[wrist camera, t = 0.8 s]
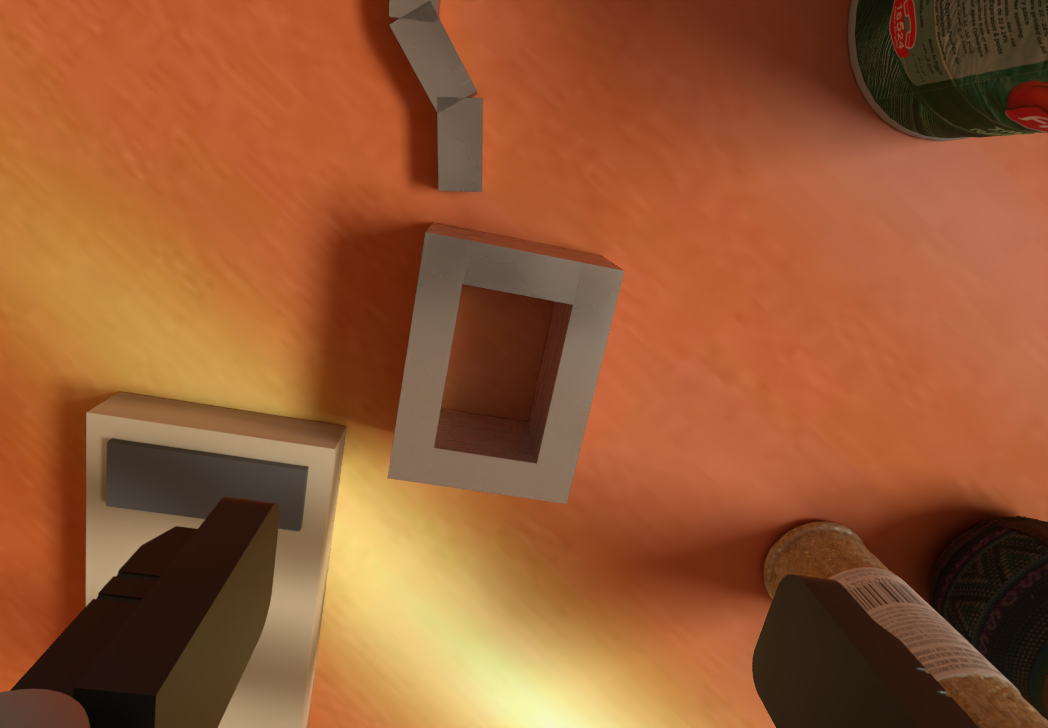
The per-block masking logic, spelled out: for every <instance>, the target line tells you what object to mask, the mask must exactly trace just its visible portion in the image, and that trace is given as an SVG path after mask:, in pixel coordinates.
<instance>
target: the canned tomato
mask: <svg viewBox="0 0 1048 728" xmlns="http://www.w3.org/2000/svg"><path fill="white" fill-rule="evenodd" d="M848 46H849V55H850V63H851V66H852V69H853V72H854V75H855V79H856V82H857V85H858V87H859V88H860V90H861V92H862V94H863V96H864V97H865V99H866V101H867V103H868V104H869V105H870V106H871V108H872V109H873V110H874V111H875V112H876V113H877V114H878V115H879V116H880V117H881V119H882V120H884V121H885V122H887V123H888V124H890V125H891V126H893V127H894V128H896V129H897V130H899V131H900V132H903V133H906V134H909V135H911V136H914V137H917V138H921V139H929V140H937V141H947V140H957V139H965V138H968V137H990V136H1006V135H1016V134H1022V135H1023V134H1033V133H1048V0H852V1H851V5H850V10H849V22H848Z"/></svg>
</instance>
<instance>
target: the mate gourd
mask: <svg viewBox="0 0 1048 728" xmlns="http://www.w3.org/2000/svg"><path fill="white" fill-rule="evenodd" d="M928 594H929V597H928V598H929V604H930V606H931V607H932V608H933V609H934V610H935V611H936V612H937V613H939V614H940V615H941V616H942V617H943V618H944V619H945V620H946V621H947V622H948V623H949V624H950V625H951V626H952V627H953V628H954V629H955V630H956V631H958V632H959V633H960V634H961V635H962V636H963V637H964V638H965V639H966V640H967V641H968V642H969V643H970V644H971V645H972V646H973V647H974V648H975V649H976V650H977V651H978V652H979V653H980V654H982V655H983V656H984V657H985V658H986V659H987V660H988V661H989V662H990V663H991V664H992V665H993V666H994V667H995V668H996V669H997V670H998V671H999V672H1000V673H1001V674H1002V675H1004V676H1005V677H1006V678H1007V679H1008V680H1009V681H1010V682H1011V683H1012V684H1013V685H1014V686H1015V687H1016V688H1017V689H1018V691H1019V692H1020V694H1021V696H1022V697H1023V698H1024V699H1025V700H1026V701H1027V702H1028V703H1029V704H1030V705H1032V706H1033V707H1034V708H1035V709H1036V710H1037V711H1038V712H1039V713H1040V715H1042V716H1043V717H1044V718H1045V719H1047V720H1048V522H1044V521H1040V520H1037V519H1032V518H1026V517H1020V516H1016V517H1004V518H990V519H987V520H986V521H982V520H981V523H979V524H977V525H976V526H974V527H973V528H972V529H970V530H968V531H966V532H964V533H963V534H961V535H960V536H958V537H957V538H956V539H954V540H953V541H952V542H951V543H950V544H949V545H948V547H947V548H946V549H945V550H944V551H943V552H942V554H941V555H940V556H939V557H938V560H937V562H936V564H935V567H934V569H933V572H932V575H931V578H930V583H929V593H928Z"/></svg>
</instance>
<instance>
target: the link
mask: <svg viewBox="0 0 1048 728" xmlns="http://www.w3.org/2000/svg"><path fill="white" fill-rule="evenodd" d="M623 274H624V270H622V269H621V268H620V267H618V266H617V265H615V264H614V263H612V262H611V261H609V260H608V259H606V258H605V257H603V256H602V255H597V254H592V253H587V252H581V251H576V250H571V249H566V248H561V247H556V246H551V245H546V244H541V243H536V242H531V241H526V240H521V239H516V238H511V237H506V236H501V235H496V234H491V233H485V232H480V231H475V230H470V229H465V228H460V227H455V226H450V225H445V224H440V223H435V222H433V223H432V225H431V226H430V227H429V228H428V230H427V231H426V232H425V239H424V245H423V252H422V258H421V265H420V271H419V278H418V284H417V291H416V297H415V304H414V310H413V317H412V323H411V330H410V336H409V343H408V349H407V356H406V362H405V369H404V375H403V382H402V388H401V395H400V401H399V407H398V414H397V420H396V427H395V433H394V440H393V446H392V453H391V459H390V466H389V472H388V478H390V479H397V480H404V481H411V482H418V483H425V484H432V485H439V486H446V487H453V488H460V489H467V490H473V491H480V492H487V493H494V494H501V495H508V496H515V497H522V498H529V499H536V500H543V501H550V502H557V503H564V504H567V501H568V497H569V493H570V489H571V485H572V481H573V477H574V472H575V468H576V464H577V460H578V456H579V452H580V448H581V444H582V440H583V436H584V432H585V428H586V424H587V420H588V416H589V412H590V408H591V404H592V400H593V396H594V392H595V387H596V383H597V379H598V375H599V371H600V367H601V363H602V359H603V355H604V351H605V347H606V343H607V339H608V335H609V331H610V327H611V323H612V319H613V315H614V311H615V306H616V302H617V298H618V294H619V290H620V286H621V282H622V278H623ZM462 284H465V285H470V286H475V287H481V288H486V289H492V290H497V291H502V292H508V293H513V294H518V295H524V296H529V297H534V298H540V299H545V300H551V301H555V303H554V308H553V313H552V317H551V322H550V326H549V331H548V335H547V340H546V345H545V349H544V354H543V358H542V363H541V367H540V372H539V377H538V381H537V386H536V390H535V395H534V399H533V404H532V409H531V413H530V418H529V422H522V421H516V420H510V419H503V418H497V417H491V416H485V415H478V414H472V413H466V412H460V411H453V410H447V409H441V404H442V398H443V393H444V387H445V381H446V375H447V370H448V364H449V358H450V352H451V347H452V341H453V335H454V330H455V324H456V318H457V312H458V307H459V301H460V295H461V289H462Z"/></svg>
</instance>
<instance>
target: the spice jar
mask: <svg viewBox="0 0 1048 728" xmlns="http://www.w3.org/2000/svg"><path fill="white" fill-rule="evenodd" d="M789 574H795V575H802V576H809V577H817V578H824V579H832V580H836V581H838V582H839V583H841V584H842V585H843V586H844V587H845V589H846V590H847V591H848V592H849V593H850V594H851V595H852V596H853V598H854V599H855V600H856V601H857V602H858V603H859V604H860V605H861V607H862V608H863V609H864V610H865V611H866V612H867V613H868V614H869V616H870V617H871V618H872V619H873V620H874V621H875V622H876V623H878V624H879V625H880V626H882V627H883V628H884V629H886V630H887V631H888V632H890V633H891V634H892V635H894V636H895V637H896V638H898V639H899V640H900V641H901V642H902V643H903V644H904V645H905V646H906V647H907V648H908V649H909V650H910V652H911V653H912V654H913V655H914V656H915V657H916V658H917V659H918V660H919V661H920V663H921V664H922V665H923V666H924V667H925V672H926V673H929V674H931V675H932V676H933V677H934V678H935V679H936V680H937V681H938V682H939V684H940V685H941V686H942V687H943V688H944V689H945V690H946V695H947V697H952V698H953V699H954V700H955V701H956V702H957V703H958V705H959V706H960V707H961V708H962V709H963V710H964V711H965V712H966V713H967V714H968V716H969V717H970V718H971V719H972V720H973V721H974V722H975V723H976V724H977V726H978V727H979V728H1048V720H1047V719H1045V718H1044V717H1043V716H1042V715H1040V713H1039V712H1038V711H1037V710H1036V709H1035V708H1034V707H1033V706H1032V705H1030V704H1029V703H1028V702H1027V701H1026V700H1025V699H1024V698H1023V697H1022V696H1021V694H1020V692H1019V691H1018V689H1017V688H1016V687H1015V686H1014V685H1013V684H1012V683H1011V682H1010V681H1009V680H1008V679H1007V678H1006V677H1005V676H1004V675H1002V674H1001V673H1000V672H999V671H998V670H997V669H996V668H995V667H994V666H993V665H992V664H991V663H990V662H989V661H988V660H987V659H986V658H985V657H984V656H983V655H982V654H980V653H979V652H978V651H977V650H976V649H975V648H974V647H973V646H972V645H971V644H970V643H969V642H968V641H967V640H966V639H965V638H964V637H963V636H962V635H961V634H960V633H959V632H958V631H956V630H955V629H954V628H953V627H952V626H951V625H950V624H949V623H948V622H947V621H946V620H945V619H944V618H943V617H942V616H941V615H940V614H939V613H937V612H936V611H935V610H934V609H933V608H932V607H931V606H930V605H929V604H928V603H927V602H926V601H925V600H924V599H923V598H921V597H920V596H919V595H918V594H917V593H916V592H915V591H914V590H913V589H912V588H911V587H910V586H909V585H908V584H907V583H906V582H905V581H903V580H902V579H901V578H900V577H898V576H897V575H895V574H894V573H892V572H891V571H890V570H889V569H888V568H887V567H886V566H885V565H884V564H883V563H882V562H881V561H880V560H878V558H877V557H876V556H875V555H873V554H872V553H871V552H870V551H869V550H868V549H867V548H866V547H865V545H864V543H863V541H862V539H861V538H860V537H859V536H858V535H857V534H856V533H855V532H854V531H852V530H851V529H849V528H848V527H846V526H844V525H842V524H840V523H834V522H829V521H823V522H818V521H817V522H811V523H807V524H804V525H800V526H798V527H796V528H794V529H792V530H790V531H788V532H787V533H785V534H784V535H783V536H782V537H781V538H780V539H779V540H778V541H777V542H776V543H775V544H774V545H773V546H772V548H771V549H770V550H769V552H768V555H767V558H766V560H765V563H764V584H765V587H766V590H767V592H768V594H769V596H770V598H771V599H772V600H773V598H774V595H775V592H776V590H777V587H778V585H779V583H780V581H781V580H782V579H783V577H785V576H786V575H789Z"/></svg>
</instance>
